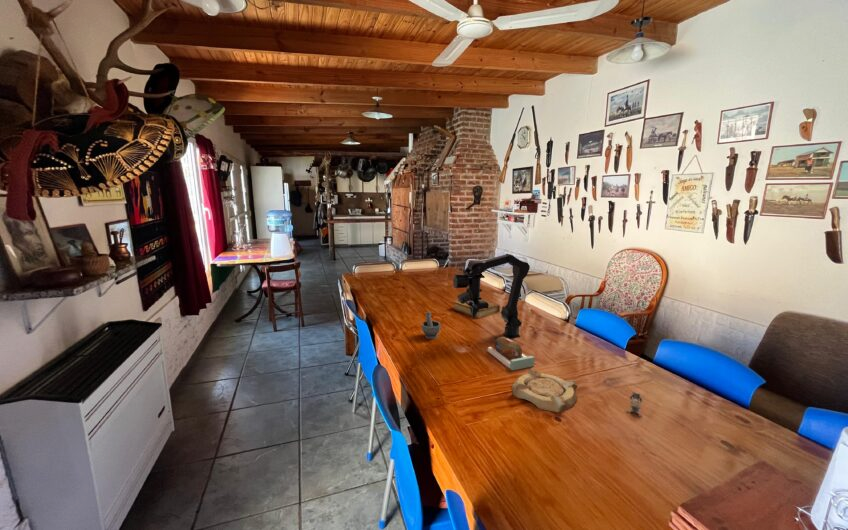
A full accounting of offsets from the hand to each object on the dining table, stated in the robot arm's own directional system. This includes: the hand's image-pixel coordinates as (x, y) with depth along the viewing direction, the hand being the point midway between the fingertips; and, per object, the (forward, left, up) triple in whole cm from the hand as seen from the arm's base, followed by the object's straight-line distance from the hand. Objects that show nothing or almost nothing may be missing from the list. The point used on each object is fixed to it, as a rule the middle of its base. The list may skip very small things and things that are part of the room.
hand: (473, 317), depth 172 cm
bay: (-6, +23, -12) cm, 27 cm away
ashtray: (-2, +52, -13) cm, 53 cm away
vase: (-23, +71, -12) cm, 76 cm away
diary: (-24, -40, -13) cm, 48 cm away
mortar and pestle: (+18, -12, -12) cm, 25 cm away
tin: (-6, +22, -12) cm, 26 cm away
